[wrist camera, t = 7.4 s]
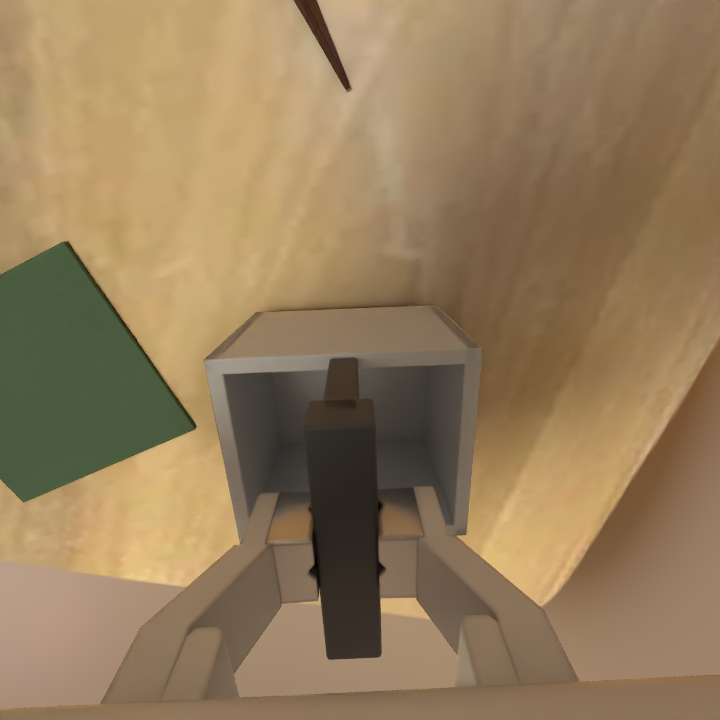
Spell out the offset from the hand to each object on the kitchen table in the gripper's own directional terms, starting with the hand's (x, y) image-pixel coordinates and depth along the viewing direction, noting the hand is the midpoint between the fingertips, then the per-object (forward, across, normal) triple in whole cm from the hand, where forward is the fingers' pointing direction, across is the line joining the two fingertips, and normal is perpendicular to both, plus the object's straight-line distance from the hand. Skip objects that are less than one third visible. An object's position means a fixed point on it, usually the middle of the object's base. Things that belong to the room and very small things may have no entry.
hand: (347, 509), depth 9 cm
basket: (+8, 0, 0) cm, 8 cm away
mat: (+9, +15, 0) cm, 18 cm away
